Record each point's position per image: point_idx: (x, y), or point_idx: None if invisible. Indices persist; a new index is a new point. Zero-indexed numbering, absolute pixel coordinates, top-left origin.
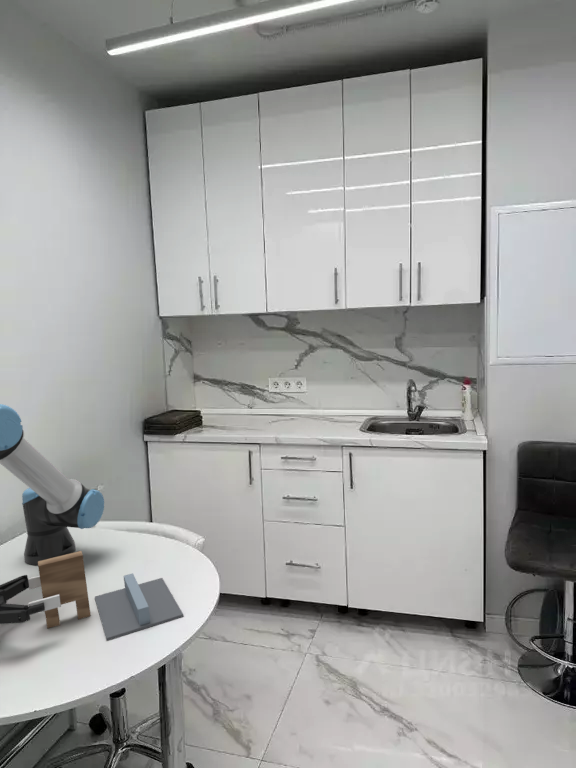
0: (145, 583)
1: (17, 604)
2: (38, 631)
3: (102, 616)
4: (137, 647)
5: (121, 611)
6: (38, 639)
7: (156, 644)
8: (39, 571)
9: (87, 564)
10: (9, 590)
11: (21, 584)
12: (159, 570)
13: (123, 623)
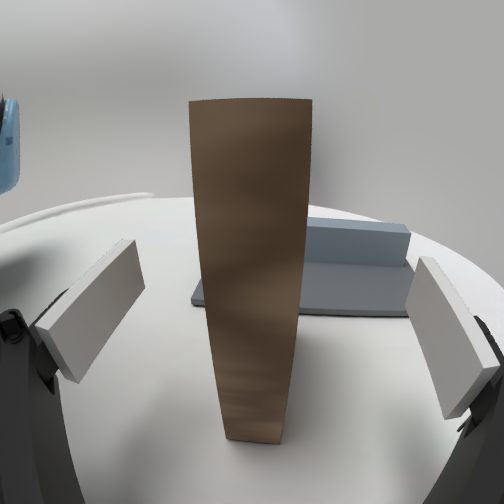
0: None
1: (482, 445)
2: (269, 474)
3: (327, 305)
4: (459, 284)
5: (326, 276)
6: (339, 477)
7: (453, 267)
8: (310, 154)
9: (25, 276)
10: (46, 480)
11: (37, 382)
12: (187, 222)
13: (384, 282)
